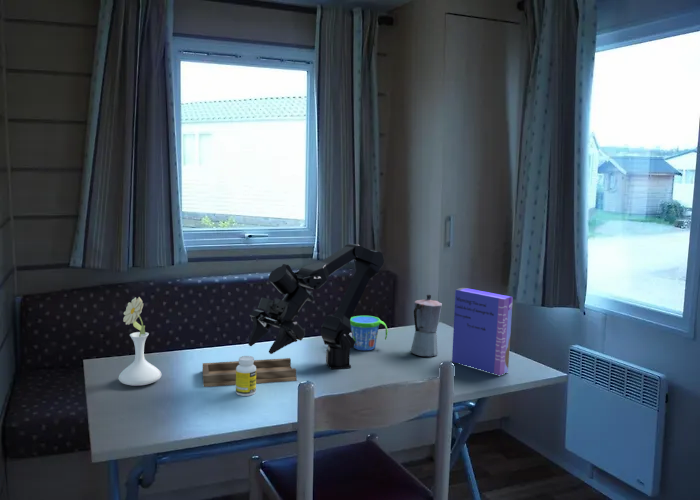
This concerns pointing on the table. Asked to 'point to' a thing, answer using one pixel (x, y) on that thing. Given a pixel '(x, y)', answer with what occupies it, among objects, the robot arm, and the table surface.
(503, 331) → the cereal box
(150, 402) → the table surface
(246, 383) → the supplement bottle
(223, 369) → the walnut track
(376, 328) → the snack cup
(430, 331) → the moka pot
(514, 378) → the table surface
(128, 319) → the flower in vase
